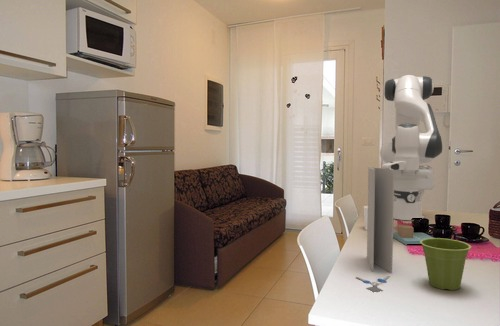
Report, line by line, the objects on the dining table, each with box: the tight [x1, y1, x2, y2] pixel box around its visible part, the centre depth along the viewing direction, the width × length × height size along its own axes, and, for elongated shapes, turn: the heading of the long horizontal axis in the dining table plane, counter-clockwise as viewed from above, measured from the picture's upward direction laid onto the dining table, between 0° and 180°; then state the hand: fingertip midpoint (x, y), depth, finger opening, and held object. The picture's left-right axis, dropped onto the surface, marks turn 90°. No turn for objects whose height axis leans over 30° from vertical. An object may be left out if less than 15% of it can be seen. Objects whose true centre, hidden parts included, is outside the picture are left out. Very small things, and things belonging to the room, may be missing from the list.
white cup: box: [363, 205, 368, 231], centre depth 161 cm, size 8×8×10 cm
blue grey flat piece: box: [355, 275, 391, 294], centre depth 99 cm, size 14×8×1 cm, turn 151°
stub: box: [393, 224, 421, 246], centre depth 143 cm, size 14×6×6 cm, turn 1°
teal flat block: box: [413, 232, 434, 240], centre depth 143 cm, size 14×7×2 cm, turn 1°
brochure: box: [366, 166, 394, 274], centre depth 113 cm, size 14×6×30 cm, turn 168°
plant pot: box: [420, 237, 472, 291], centre depth 96 cm, size 12×12×11 cm
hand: (405, 201), depth 142 cm, fingers open, 8 cm apart
